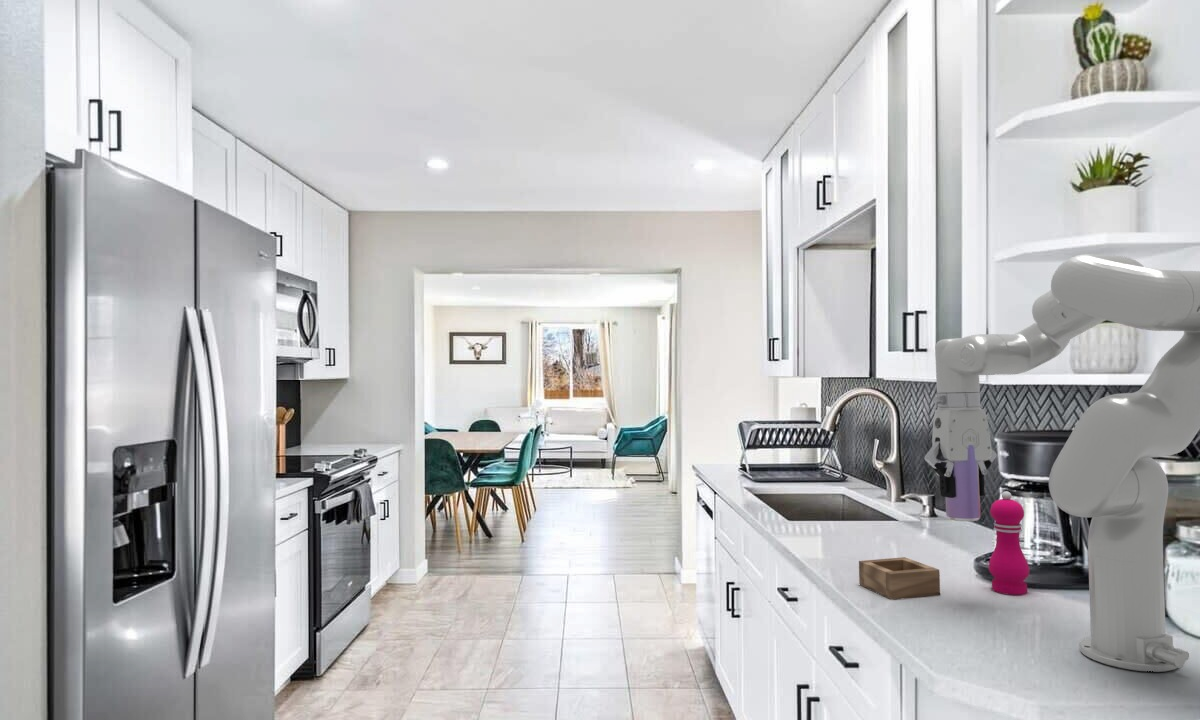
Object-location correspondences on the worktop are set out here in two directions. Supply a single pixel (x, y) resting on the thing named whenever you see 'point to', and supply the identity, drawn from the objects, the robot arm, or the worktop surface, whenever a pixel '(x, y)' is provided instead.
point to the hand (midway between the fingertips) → (962, 495)
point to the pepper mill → (1008, 548)
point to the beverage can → (965, 490)
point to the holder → (899, 578)
